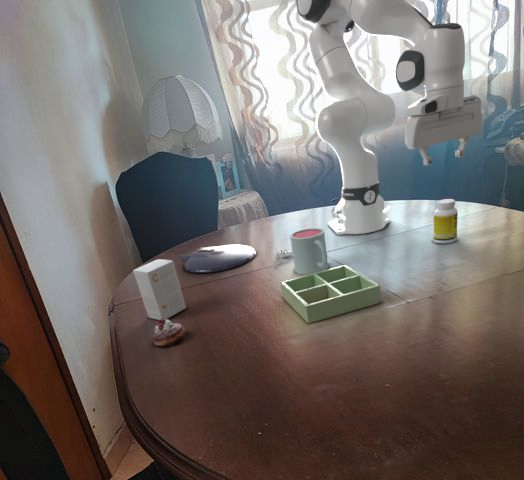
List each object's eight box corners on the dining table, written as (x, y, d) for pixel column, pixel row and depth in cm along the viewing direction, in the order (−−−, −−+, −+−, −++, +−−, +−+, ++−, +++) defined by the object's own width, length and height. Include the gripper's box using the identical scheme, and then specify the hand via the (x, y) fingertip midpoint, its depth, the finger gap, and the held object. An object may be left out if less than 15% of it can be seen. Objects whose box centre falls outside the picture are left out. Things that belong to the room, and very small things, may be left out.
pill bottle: (458, 242, 127) (459, 202, 122) (434, 245, 129) (435, 205, 124) (454, 236, 133) (456, 196, 127) (432, 238, 134) (432, 199, 129)
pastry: (156, 334, 109) (150, 315, 106) (187, 328, 108) (182, 309, 106) (151, 350, 102) (144, 330, 99) (184, 344, 101) (178, 323, 99)
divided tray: (283, 297, 115) (280, 282, 113) (346, 279, 118) (345, 264, 116) (308, 323, 100) (306, 306, 98) (381, 302, 103) (380, 285, 101)
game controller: (294, 253, 144) (293, 244, 143) (294, 265, 134) (293, 257, 133) (276, 255, 145) (275, 247, 144) (275, 268, 135) (274, 259, 134)
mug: (289, 269, 132) (284, 234, 127) (317, 260, 135) (313, 226, 130) (312, 281, 121) (308, 244, 116) (343, 271, 123) (339, 234, 119)
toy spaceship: (162, 267, 155) (159, 258, 153) (214, 244, 169) (212, 236, 167) (217, 277, 136) (215, 267, 135) (271, 250, 150) (269, 241, 149)
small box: (171, 304, 123) (157, 258, 117) (186, 308, 120) (173, 260, 113) (147, 317, 118) (132, 269, 112) (162, 321, 114) (147, 272, 108)
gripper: (472, 94, 118) (470, 152, 125) (400, 109, 115) (402, 168, 121) (489, 92, 113) (486, 153, 119) (415, 108, 109) (416, 170, 116)
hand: (443, 160), depth 120 cm, fingers open, 8 cm apart
